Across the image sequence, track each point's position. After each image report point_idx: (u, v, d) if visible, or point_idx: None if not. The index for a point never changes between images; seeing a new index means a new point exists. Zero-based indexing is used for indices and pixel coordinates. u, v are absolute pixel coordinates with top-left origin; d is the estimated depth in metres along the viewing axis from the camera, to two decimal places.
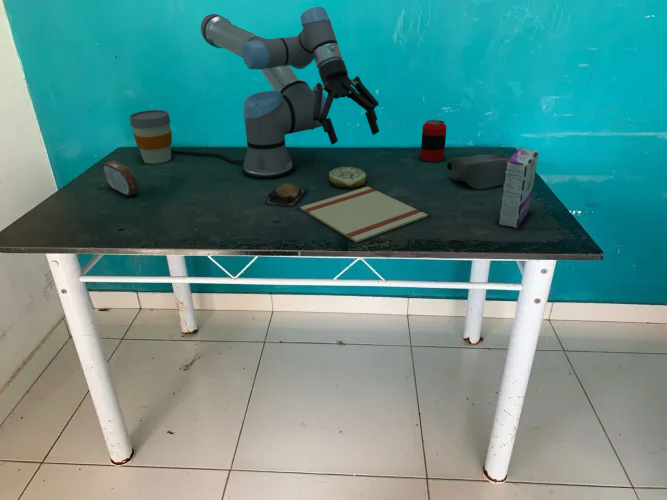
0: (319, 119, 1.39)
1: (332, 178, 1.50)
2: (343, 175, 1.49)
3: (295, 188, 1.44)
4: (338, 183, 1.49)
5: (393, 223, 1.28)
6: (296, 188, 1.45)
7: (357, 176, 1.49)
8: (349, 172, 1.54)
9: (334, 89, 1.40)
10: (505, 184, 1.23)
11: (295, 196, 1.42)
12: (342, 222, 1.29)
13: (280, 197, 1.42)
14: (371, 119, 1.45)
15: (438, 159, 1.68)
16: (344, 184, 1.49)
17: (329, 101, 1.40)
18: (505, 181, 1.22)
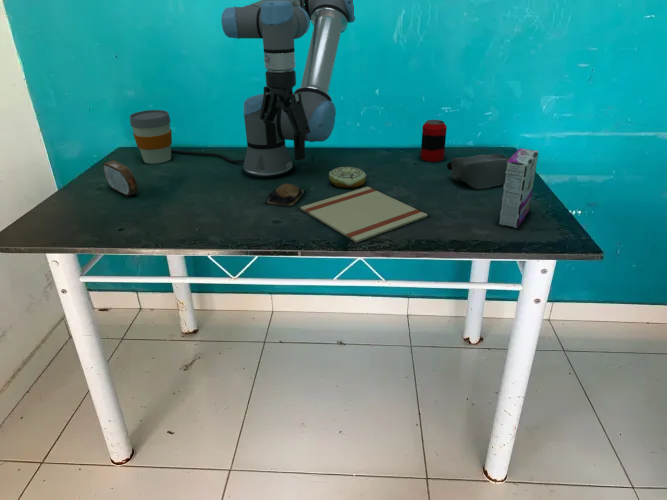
0: None
1: (332, 178, 1.50)
2: (343, 175, 1.49)
3: (295, 188, 1.44)
4: (338, 183, 1.49)
5: (393, 223, 1.28)
6: (296, 188, 1.45)
7: (357, 176, 1.49)
8: (349, 172, 1.54)
9: (271, 100, 1.33)
10: (505, 184, 1.23)
11: (295, 196, 1.42)
12: (342, 222, 1.29)
13: (280, 197, 1.42)
14: None
15: (438, 159, 1.68)
16: (344, 184, 1.49)
17: (268, 109, 1.37)
18: (505, 181, 1.22)
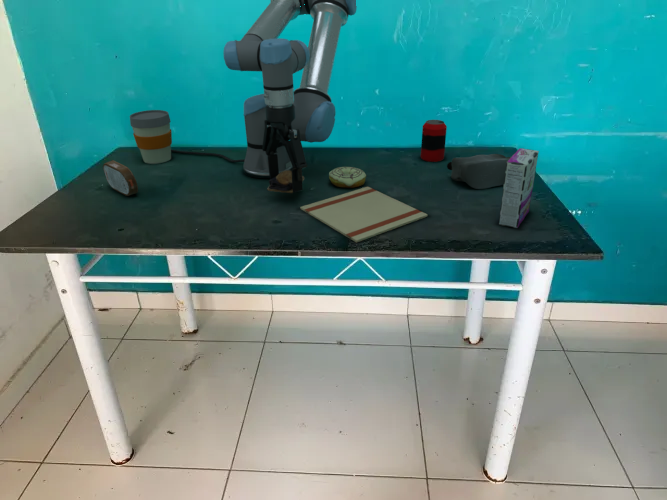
0: None
1: (332, 178, 1.50)
2: (343, 175, 1.49)
3: None
4: (338, 183, 1.49)
5: (393, 223, 1.28)
6: None
7: (357, 176, 1.49)
8: (349, 172, 1.54)
9: (271, 132, 1.38)
10: (505, 184, 1.23)
11: None
12: (342, 222, 1.29)
13: (280, 184, 1.41)
14: None
15: (438, 159, 1.68)
16: (344, 184, 1.49)
17: (270, 141, 1.41)
18: (505, 181, 1.22)
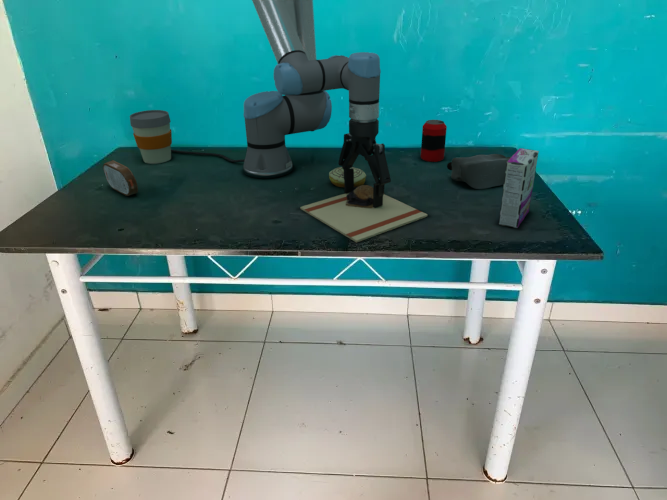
0: None
1: (332, 178, 1.50)
2: (343, 175, 1.49)
3: None
4: (338, 183, 1.49)
5: (393, 223, 1.28)
6: None
7: (357, 176, 1.49)
8: None
9: (352, 147, 1.35)
10: (505, 184, 1.23)
11: None
12: (342, 222, 1.29)
13: (359, 199, 1.38)
14: None
15: (438, 159, 1.68)
16: None
17: (349, 156, 1.39)
18: (505, 181, 1.22)
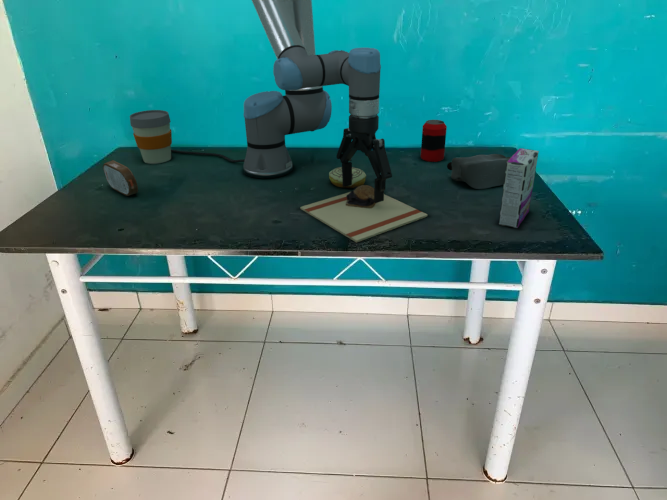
0: None
1: (332, 178, 1.50)
2: None
3: (373, 190, 1.40)
4: (338, 183, 1.49)
5: (393, 223, 1.28)
6: None
7: (357, 176, 1.49)
8: None
9: (352, 142, 1.35)
10: (505, 184, 1.23)
11: None
12: (342, 222, 1.29)
13: (359, 199, 1.38)
14: None
15: (438, 159, 1.68)
16: None
17: (348, 150, 1.38)
18: (505, 181, 1.22)
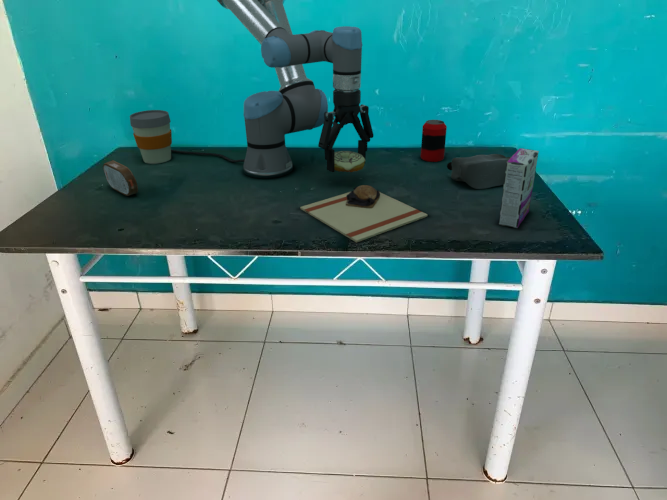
0: (324, 148, 1.44)
1: None
2: (342, 159, 1.47)
3: (373, 190, 1.40)
4: (337, 167, 1.48)
5: (393, 223, 1.28)
6: (374, 189, 1.41)
7: (356, 160, 1.48)
8: (348, 157, 1.52)
9: (343, 120, 1.42)
10: (505, 184, 1.23)
11: (374, 198, 1.39)
12: (342, 222, 1.29)
13: (359, 199, 1.38)
14: (362, 151, 1.52)
15: (438, 159, 1.68)
16: (343, 168, 1.47)
17: (336, 132, 1.43)
18: (505, 181, 1.22)
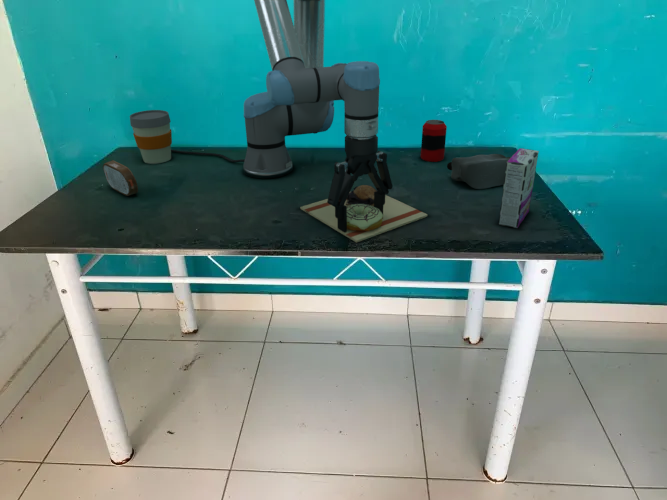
0: None
1: None
2: (356, 216, 1.24)
3: (373, 190, 1.40)
4: (350, 226, 1.24)
5: (393, 223, 1.28)
6: (374, 189, 1.41)
7: (373, 217, 1.24)
8: (362, 211, 1.28)
9: (357, 171, 1.19)
10: (505, 184, 1.23)
11: None
12: None
13: (359, 199, 1.38)
14: (379, 205, 1.28)
15: (438, 159, 1.68)
16: (357, 227, 1.23)
17: (349, 186, 1.20)
18: (505, 181, 1.22)
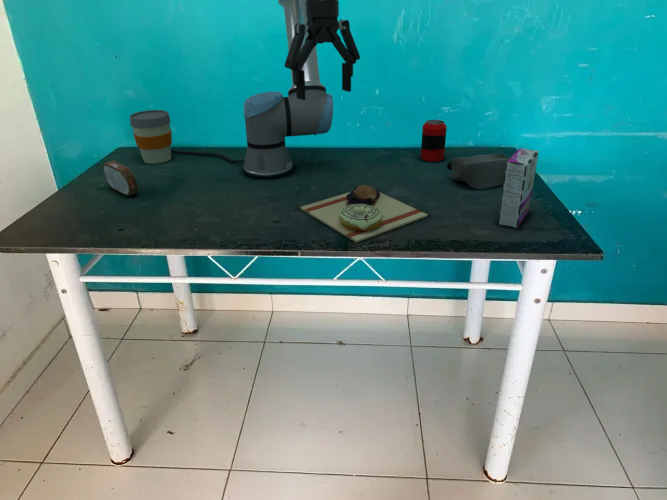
0: (291, 69, 1.20)
1: (342, 219, 1.25)
2: (356, 216, 1.24)
3: (373, 190, 1.40)
4: (350, 226, 1.24)
5: (393, 223, 1.28)
6: (374, 189, 1.41)
7: (373, 217, 1.24)
8: (362, 211, 1.28)
9: (318, 36, 1.19)
10: (505, 184, 1.23)
11: (374, 198, 1.39)
12: None
13: (359, 199, 1.38)
14: (347, 75, 1.29)
15: (438, 159, 1.68)
16: (357, 227, 1.23)
17: (308, 50, 1.19)
18: (505, 181, 1.22)
